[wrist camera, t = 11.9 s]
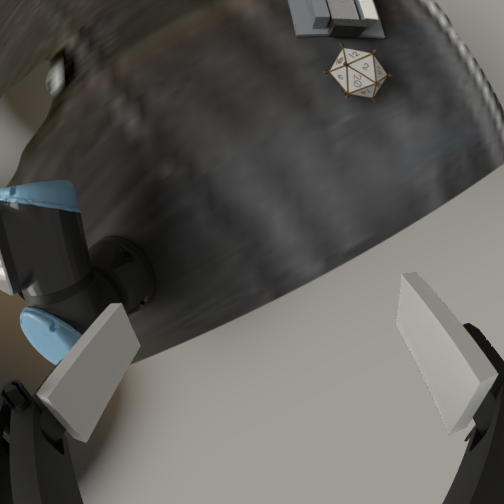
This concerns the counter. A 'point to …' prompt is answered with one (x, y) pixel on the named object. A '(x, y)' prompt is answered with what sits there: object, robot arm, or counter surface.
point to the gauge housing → (317, 16)
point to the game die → (358, 72)
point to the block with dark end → (344, 19)
